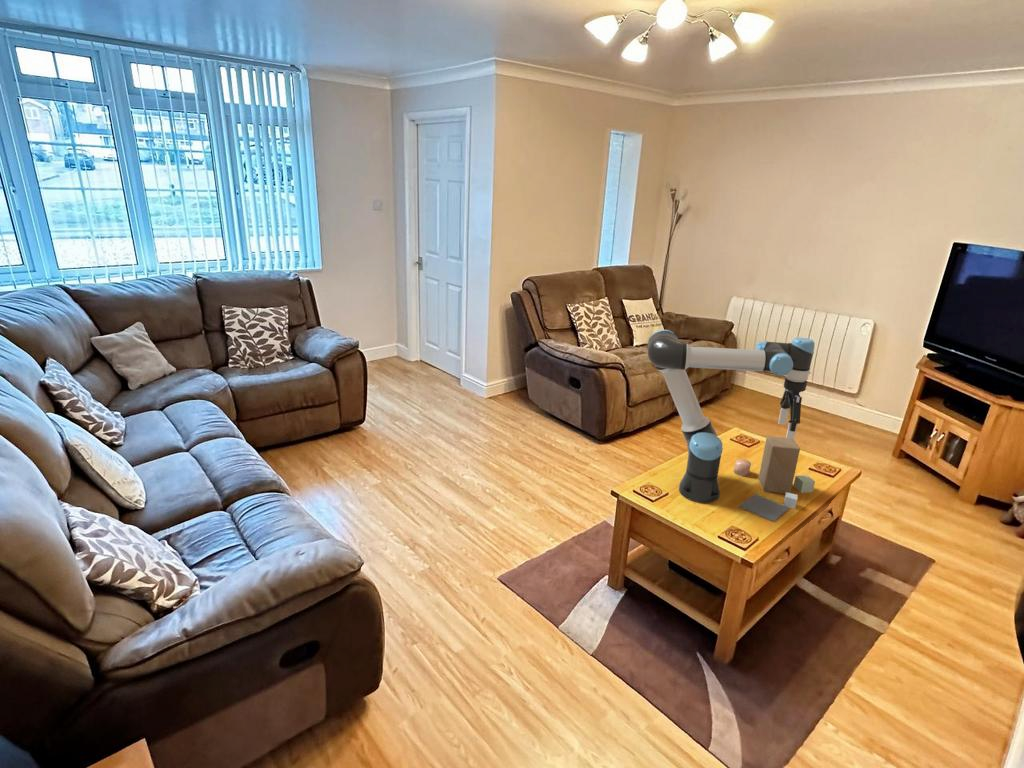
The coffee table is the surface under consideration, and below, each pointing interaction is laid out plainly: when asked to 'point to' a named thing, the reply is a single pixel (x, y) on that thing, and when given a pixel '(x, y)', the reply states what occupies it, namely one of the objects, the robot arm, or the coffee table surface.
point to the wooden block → (778, 464)
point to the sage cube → (804, 484)
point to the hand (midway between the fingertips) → (785, 430)
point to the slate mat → (764, 507)
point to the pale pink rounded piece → (742, 467)
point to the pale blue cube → (790, 500)
